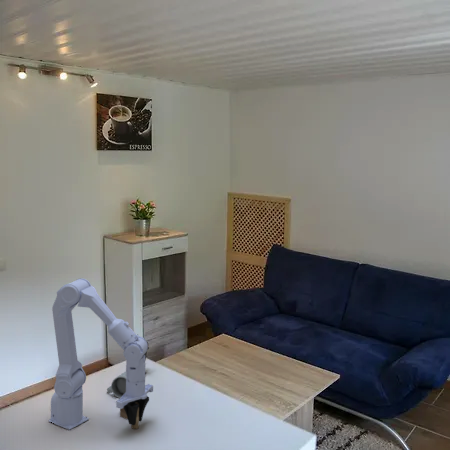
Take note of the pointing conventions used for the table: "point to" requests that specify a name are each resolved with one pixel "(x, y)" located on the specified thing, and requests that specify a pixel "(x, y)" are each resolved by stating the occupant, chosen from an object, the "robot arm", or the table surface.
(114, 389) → the ceramic mug
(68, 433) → the table surface
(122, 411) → the bead
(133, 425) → the dowel
